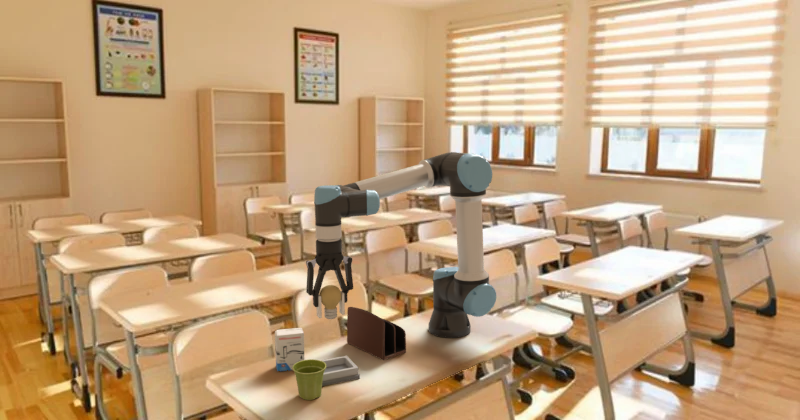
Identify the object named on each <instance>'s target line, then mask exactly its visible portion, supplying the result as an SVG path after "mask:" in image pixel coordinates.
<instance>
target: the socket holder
mask: <svg viewBox="0 0 800 420" xmlns="http://www.w3.org/2000/svg"><path fill="white" fill-rule="evenodd" d="M320 361H323V362H325V363H326V369H325V372H324V374H323V382H322V387H324V386H329V385H333V384H340V383H344V382H349V381H354V380H358V379H360V378H361V376H360V374H359V367H358V365H356V364H355V362H353V360H352V359H351V358H350V357H349V356H348V355H343V356H337V357H333V358H327V359H322V360H320Z"/></svg>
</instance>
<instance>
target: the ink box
mask: <svg viewBox="0 0 800 420" xmlns="http://www.w3.org/2000/svg"><path fill="white" fill-rule="evenodd" d="M274 348H275V367H276V371H277V372H278V371H280V372H286V371H287V370H288V371H293V369H292V367H293V365H294V364H295V363H297V362H299V361H303V360H305V334H304V330H303V328H302V327H294V328H283V329H276V330H275V331H274Z"/></svg>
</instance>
